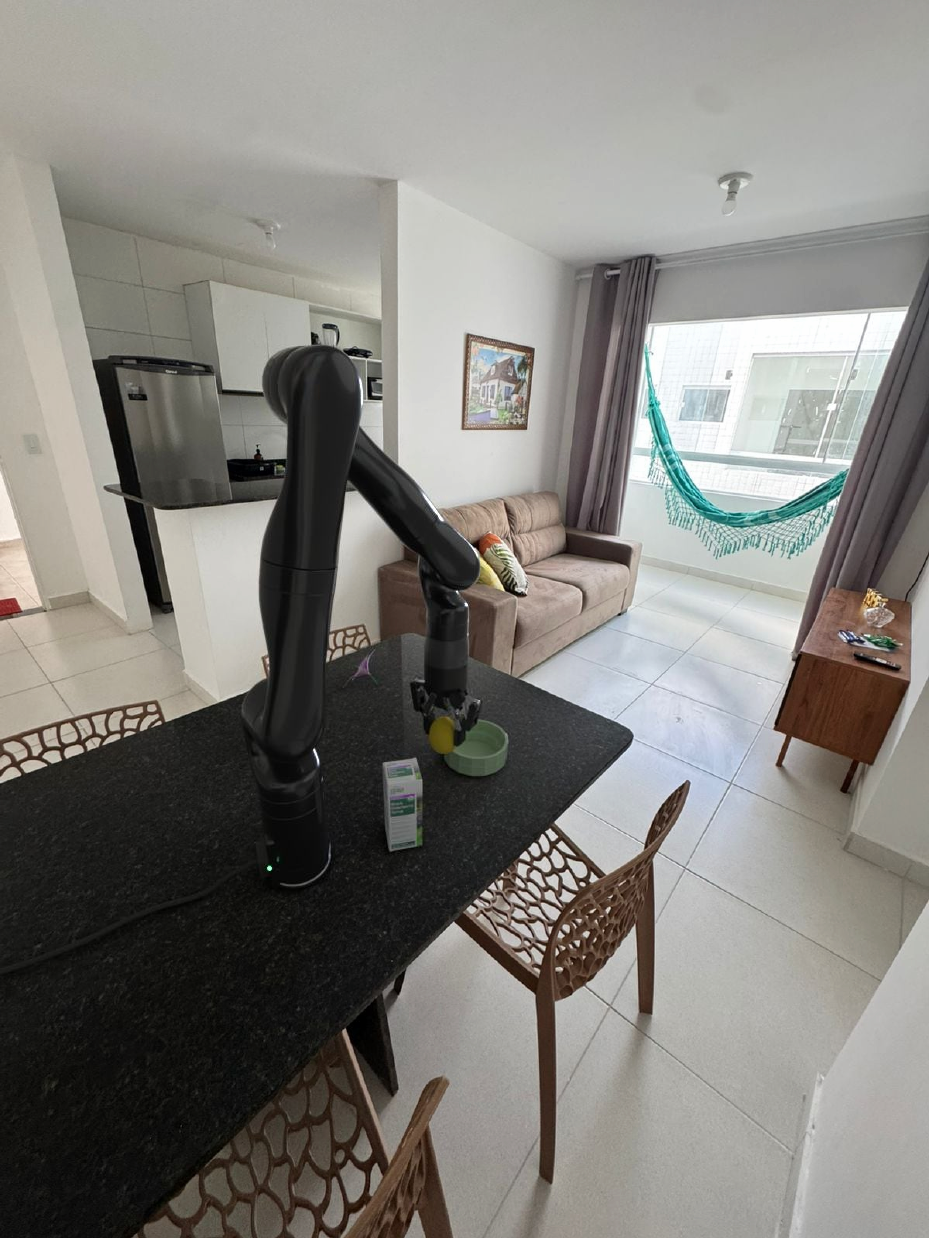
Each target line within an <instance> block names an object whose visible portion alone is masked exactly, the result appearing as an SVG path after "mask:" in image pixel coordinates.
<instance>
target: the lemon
mask: <svg viewBox="0 0 929 1238" xmlns="http://www.w3.org/2000/svg"><path fill="white" fill-rule="evenodd" d="M454 729H455V725H454V722H453V720H451V719H450V717H449V716H446V715H445V716H439V717H437V718H435V721H434V722H433V723H432V725H431V727H430V731H429V735H428V741H429V744H430V746H431V748H432V749H433V750H434V751H435V752H437V753H438V754H440V755H441V754H442V755H444V754H447V753H450V752H452V751H453V750H454V749H455V748H456V746H454Z"/></svg>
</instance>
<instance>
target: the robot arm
mask: <svg viewBox="0 0 929 1238" xmlns="http://www.w3.org/2000/svg"><path fill="white" fill-rule="evenodd" d="M261 387H262V394H263V397H264V400H265V403H266V404H267V406H268V408H269V410H270V411H271V413H272V414H273V415H274V416H275V417H276V418H277V419H278V420H279V421H281V423H282V424H284V425H285V426H286V436H287V437H286V455H285V456H286V457H285V458H286V459H285V468H284V474H283V475H284V476H283V480H282V484H281V488H280V491H279V493H278V496H277V499H276V501H275V504H274V506H273V508H272V511H271V513H270V515H269V518H268V521H267V523H266V527H265V530H264V533H263V536H262V541H261V547H260V553H259V555H260V556H259V566H258V567H259V569H258V570H259V571H258V604H259V613H260V619H261V624H262V630H263V636H264V641H265V646H266V651H267V656H268V657H267V658H268V677H265V678H263V679H261V680H260V681H257V682H256V683H255V684H254V685H253V686H252V687H251V688H250V689H249V690H248V692H247V693H246V694H245V697H244V698H243V701H242V705H241V713H240V716H241V725H242V731H243V737H244V741H245V747H246V752H247V758H248V762H249V765H250V769H251V771H252V775H253V777H254V780H255V781H254V782H255V785H256V790H257V796H258V803H259V809H260V815H261V823H262V830H263V838H264V839H263V840H261V841H257V842H255V850H256V858H254V859H253V860H251V861H250V860H249V862H247V863H244V864H243V865H240V866H239V867H237V868H235V869H233V870H231V871H229V872H228V873H226V874H225V875H223V876H222V877H221V878H219V879H218V880H217V881H216V882H215V883H213V885H211V886H209V887H207V888H206V889H203V890H201V891H199V892H196V893H193V894H191V895H187V896H184V897H180V898H176V899H173V900H169V901H165V902H162V903H158V904H156V905H152V906H149V907H148V908H147V907H146V908H145V909H142V910H140V911H137V912H135V913H133V914H130V915H128V916H125V918H122V919H120V920H117V921H116V922H114V923H112V924H110V925H108V926H106V927H104V928H102V929H100V930H98V931H96V932H93V933H92V934H89V935H87V936H85V937H83V938H81V939H78V940H76V941H73V942H71V943H69V944H66V945H63V946H61V947H58V948H56V949H54V950H51V951H48V952H46V953H43V954H40V955H38V956H35V957H32V958H29V959H26V960H23V961H20V962H17V963H13V964H10V965H6V966H3V967H0V976H2V975H5V974H8V973H12V972H15V971H18V970H21V969H24V968H27V967H30V966H33V965H36V964H38V963H41V962H44V961H47V960H49V959H52V958H55V957H57V956H59V955H63V954H64V953H67V952H69V951H73V950H75V949H76V948H79V947H81V946H84V945H86V944H88V943H90V942H92V941H94V940H97V939H99V938H101V937H103V936H105V935H107V934H109V933H111V932H113V931H115V930H117V929H119V928H121V927H123V926H124V925H127V924H129V923H131V922H133V921H135V920H137V919H140V918H142V917H145V916H147V915H149V914H152V913H155V912H159V911H161V910H164V909H168V908H172V907H175V906H179V905H183V904H186V903H190V902H192V901H195V900H199V899H200V898H203V897H205V896H207V895H210V894H211V893H213V892H215V891H216V890H217V889H219V888H220V887H221V886H222V885H223V884H225V883H226V882H227V881H229V880H230V879H232V878H233V877H235V876H236V875H238V874H240V873H242V872H245V871H246V870H248V869H250V868H252V867H255V866H256V865H258V866H257V867H258V870H259V876H260V877H259V878H260V879H264V878H266V877H270V881H271V887H272V890H277V889H283V890H289V891H297V890H302V889H305V888H308V887H310V886H313V885H314V884H316V883H317V882H319V881H320V880H321V879H322V878H323V877H324V876H325V875H326V874H327V872H328V871H329V868H330V865H331V862H332V861H331V848H332V847H331V845H330V842H329V833H328V832H329V831H328V821H327V820H328V818H327V809H326V798H325V786H324V785H325V784H324V775H323V766H322V765H323V764H322V760H321V757H320V755H319V752H318V750H317V746H318V744H319V743H320V741H321V739H322V737H323V734H324V731H325V728H326V716H327V715H326V714H327V713H326V712H327V707H326V706H327V705H326V703H327V702H326V701H327V700H326V691H327V690H326V689H327V688H326V686H327V685H326V683H327V682H326V681H327V680H326V676H327V675H326V674H327V657H328V649H329V643H330V634H331V625H332V616H333V606H334V599H335V594H336V587H337V577H338V571H339V560H340V547H341V539H342V538H341V537H342V529H343V523H344V512H345V504H346V502H345V501H346V492H347V486H348V483H349V484H350V485H351V486H352V487H353V488H354V489H355V490H356V492H357V494H358V495H360V496H361V497H362V499H364V501H365V502H366V503H367V504H368V506H370V508H371V509H372V510H373V512H375V513H376V515H377V516H378V517H379V518H380V520H382V522H383V523H384V525H386V526H387V528H388V529H389V530H390V531H391V532H392V534H394V536H395V537H396V538H397V539H398V541H399V542H400V543H401V544H402V545H403V546H405V547H406V548H407V549H408V550H410V551H411V552H413V553H414V554H417V555H418V560H417V573H418V580H419V584H420V588H421V593H422V597H423V602H424V605H425V609H426V614H425V638H424V643H423V644H424V646H423V647H424V649H423V650H424V652H423V653H424V654H423V655H424V656H423V657H424V658H423V663H424V664H423V677H422V676H418V677H415V678H414V679H413V680H412V681H410V683H409V687H410V693H411V699H412V706H413V710H414V711H415V712H417V713H418V712H419V713H421V716H422V717H423V718H422V722H423V723H422V728H423V731H424V734H425V735H428V736H429V731H430V727H431V725H432V723H433V722H434V721H435V720H436V713H435V711H436V709H442V710H444V711H445V712H447V713H448V717H450V719H451V720H453V722H454V725H455V729H454V746H456V747H458V746H459V745H461V744H462V743H463V742H464V741H465V739H466V731H468V732H469V731H470V730H471V729H472V728H473V727H474V726H475V725H476V724H477V721H478V719H479V717H480V713H481V709H482V706H483V702H484V700H483V699H482V697H479V696H478V697H477V698H475V697H472V696H471V695H469V692H468V689H467V684H468V679H469V678H468V677H469V659H470V641H469V624H470V607H469V604H468V602H467V601H466V600H465V599H464V598H463V596H461V594H460V593H459V592H463V591H466V590H469V589H470V588H472V587H473V586H474V585H476V583H477V582H478V581H479V578H480V575H481V571H482V570H481V568H482V566H481V560H480V556H479V555H478V553H477V551H476V549H475V548H474V547H473V545H472V544H470V542H469V541H468V540H467V539H466V538H465V537H464V536H463V535H462V534H461V533H460V532H459V531H458V530H456V528H454V527H453V526H452V525H451V524H450V523H449V522H448V521H447V520H445V518H444V517H443V516H442V515H441V513H440V512H439V510H438V509H437V508H436V506H435V504H434V503H433V502H432V500H431V499H430V498H429V496H428V494H426V492H425V491H424V490H423V489H422V487H421V486H420V485H419V484H418V483H417V482H416V481H415V479H414V478H413V477H412V476H411V475H410V474H409V473H408V472H407V471H406V470H405V469H403V467H402V466H401V465H399V464H398V463H397V462H396V461H395V460H394V459H392V458H391V457H390V455H388V454H387V453H386V452H385V451H383V449H381V448H380V447H379V446H378V444H377V443H375V441H373V439H372V438H371V437H370V436H369V435H368V434H367V433H366V431H365V429H363V427H361V418H362V414H363V408H364V386H363V381H362V378H361V374H360V372H359V369H358V367H357V365H356V364H355V362H354V361H353V359H352V358H351V357H350V356H349V355H348V354H347V353H345V352H344V351H343V350H342V349H340V348H338V347H336V346H332V345H329V344H307V345H297V346H291V347H286V348H283V349H281V350H278V351H277V352H275V353H274V354H273V355H272V356H271V357H270V358H268V360H267V361H266V363H265V366H264V368H263V371H262V375H261ZM426 695H427V696H428V698H427V696H426ZM465 704H466V705H465ZM466 711H467V715H466Z"/></svg>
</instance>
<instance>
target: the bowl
mask: <svg viewBox="0 0 929 1238" xmlns="http://www.w3.org/2000/svg"><path fill="white" fill-rule="evenodd" d="M508 748H509V738H508V734H507V733H506V732H505V730H504V729H503V728H502V727H501V726H500V725H498V724H496V723H494V722H492V721H488V720H484V719H479V718H478V721H477V724H476V725H475V726H474V727H473V728H472V729H471V730H470V731H469V732H468V731H466V739H465V741H464V742H463V743H462V744H461V745H459V746H458V747H456V748H455V749H454V750H453V751H452V752H450V753H447V754H443V759H444V761H445V763H446V764H447V766H448V767H449V768H451V769H452V770H453V771H455V772H456V773H458V774H461V775H466V776H469V777H487V776H489V775H492V774H495V773H497V772H499V770H501V769H502V768H503V767H504V766H505V765H506V761H507V760H508V750H509V749H508Z"/></svg>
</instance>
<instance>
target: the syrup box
mask: <svg viewBox="0 0 929 1238" xmlns="http://www.w3.org/2000/svg"><path fill="white" fill-rule="evenodd" d="M382 785H383V787H382V789H383V808H384V809H383V811H384V828H385V829H384V830H385V834H386V841H387V848H388V851H389V852H390V853H391V852H394V851H399V850H404V849H405V850H406V849H410V848H411V849H412V848H416V847H422V846H423V778H422V773H421V771H420V766H419V763H418V760H417V757H412V758H408V759H397V760H392V761H385V762H382Z"/></svg>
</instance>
